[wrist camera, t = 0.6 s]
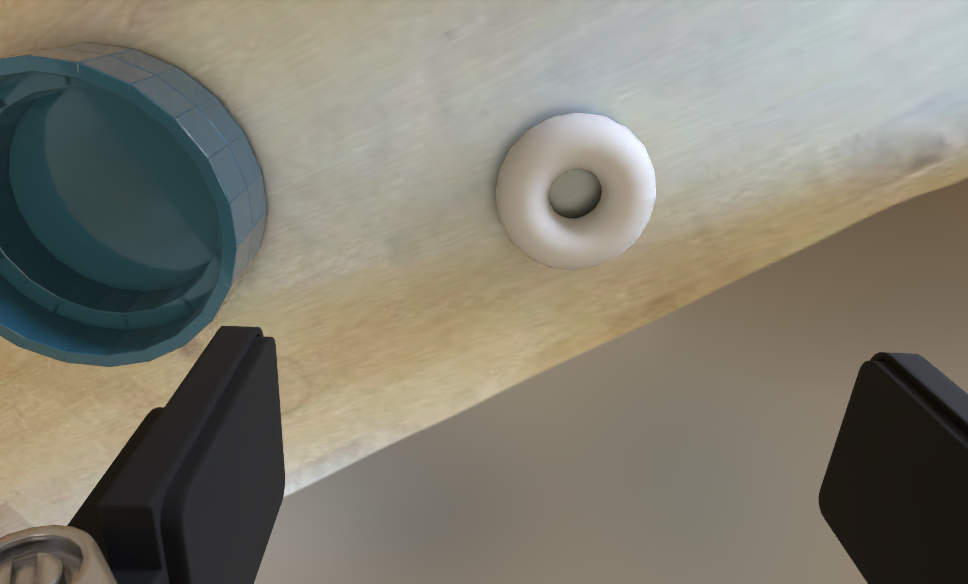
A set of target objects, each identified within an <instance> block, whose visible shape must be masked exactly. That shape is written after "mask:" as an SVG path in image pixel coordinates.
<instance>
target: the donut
mask: <svg viewBox="0 0 968 584" xmlns="http://www.w3.org/2000/svg"><path fill="white" fill-rule="evenodd" d="M574 169H583V170H588V171H590V172H592V173H593V174H594V175H595V176H596V177H597V178H598V180H599V182H600V184H601V188H602V193H601V198H600V201H599V202H598V204H597V206H596V207H595V208H594V209H593V210H592V211H591V212H590V213H588V214H586V215H584V216H582V217H578V218H567V217H563V216H561V215H559V214H557V213H556V212H555V211H554V210H553V208H552V206H551V204H550V201H549V190H550V187H551V186H552V184H553V182H554V180H556V179H557V178H558V177H559V176H560V175H561V174H563V173H565V172H567V171H569V170H574ZM495 198H496V204H497V210H498V216H499V220H500V222H501V224H502V226H503V228H504V229H505V231H506V233H507V235H508V237H509V239H510V240H511V242H512V243H513V244H514V245H516V246H517V247H518V248H519V249H520V250H521V251H522V252H523V253H524V254H525V255H526V256H527V257H528V258H531V259H533V260H535V261H537V262H539V263H541V264H544V265H546V266H548V267H551V268H559V269H567V270H578V269H584V268H590V267H596V266H599V265H601V264H603V263H605V262H607V261H609V260H611V259H613V258H616V257H618V256H619V255H620V254H622V253H623V252H624V251H625V250H626V249H627V248H628V247H629V246H631V245H632V244H633V243H634V242H635V241H636V240H637V239H638V237H639V236H640V234H641V233H642V231H643V229H644V228H645V226H646V225H647V223H648V221H649V220H650V217H651V213H652V209H653V206H654V202H655V198H656V186H655V171H654V168H653V166H652V163H651V161H650V159H649V156H648V154H647V152H646V149H645V147H644V145H643V144H642V143H641V142H640V141H639V140H638V139H637V138H636V137H635V136H634V135H633V134H632V133H631V131H630V130H629V129H628V128H626V127H624V126H622V125H620V124H619V123H617V122H615V121H613V120H611V119H609V118H607V117H605V116H599V115H592V114H585V113H578V112H577V113H571V114H566V115H560V116H554V117H551V118H549V119H547V120H545V121H543V122H542V123H540V124H538V125H536V126H534V127H532V128H530V129H529V130H528V131H527V132H526V133H525V134H524V135H523V136H522V137H521V138H520V139H519V140H518V141H517V142H516V143H515V144H514V145H513V146H512V147H511V149H510V151H509V152H508V154H507V156H506V158H505V160H504V162H503V164H502V166H501V168H500V170H499V174H498V180H497V186H496V193H495Z"/></svg>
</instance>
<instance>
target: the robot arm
mask: <svg viewBox="0 0 968 584" xmlns="http://www.w3.org/2000/svg"><path fill="white" fill-rule="evenodd" d="M284 488H285V469H284V455H283V441H282V427H281V413H280V399H279V385H278V371H277V357H276V345H275V340H274V338H273V337H263V332H262V330H261V328H260V327H238V326H221V327H220V328H219V329H218V331H217V332H216V334H215V335H214V337H213V338H212V340H211V341H210V342H209V344H208V345H207V347H206V348H205V350H204V351H203V353H202V354H201V355H200V357H199V358H198V360H197V361H196V363H195V364H194V366H193V367H192V368H191V370H190V371H189V373H188V374H187V376H186V377H185V379H184V380H183V381H182V383H181V384H180V386H179V387H178V389H177V390H176V392H175V393H174V394H173V396H172V397H171V399H170V400H169V402H168V403H167V405H166V406H165V407H164V408H162V407H158V408H155V409H152V410H151V411H150V412H149V414H148V415H147V416H146V417H145V418H144V420H143V421H142V423H141V424H140V425H139V427H138V428H137V430H136V431H135V432H134V434H133V435H132V437H131V438H130V439H129V441H128V442H127V443H126V445H125V446H124V448H123V449H122V450H121V452H120V453H119V455H118V456H117V457H116V459H115V460H114V462H113V463H112V464H111V466H110V467H109V468H108V470H107V471H106V473H105V474H104V475H103V477H102V478H101V480H100V481H99V482H98V484H97V485H96V487H95V488H94V489H93V491H92V492H91V493H90V495H89V496H88V498H87V499H86V500H85V502H84V503H83V505H82V506H81V507H80V509H79V510H78V512H77V513H76V514H75V516H74V517H73V518H72V520H71V521H70V523H69V524H68V525H67V526H61V525H48V526H40V527H32V528H28V529H25V530H21V531H18V532H14V533H11V534H8V535H5V536H3V537H1V538H0V584H254V581H255V578H256V575H257V572H258V570H259V567H260V564H261V561H262V558H263V555H264V552H265V549H266V546H267V543H268V540H269V537H270V535H271V532H272V529H273V526H274V523H275V520H276V517H277V514H278V511H279V508H280V506H281V503H282V499H283V495H284ZM819 507H820V510H821V513H822V515H823V517H824V519H825V520H826V522H827V523H828V524H829V526H830V528H831V529H832V531H833V532H834V533H835V535H836V537H837V538H838V540H839V541H840V543H841V544H842V546H843V547H844V549H845V550H846V552H847V553H848V554H849V556H850V558H851V559H852V560H853V562H854V564H855V565H856V566H857V568H858V569H859V571H860V572H861V574H862V575H863V577H864V578H865V580H866V581H867V583H868V584H968V394H967V393H966V392H965V391H963V390H962V389H961V388H959V387H958V386H957V385H956V384H955V383H954V382H952V381H951V380H950V379H949V378H948V377H946V376H945V375H944V374H943V373H941V372H940V371H939V370H938V369H937V368H935V367H934V366H933V365H931V363H929V362H928V361H927V360H925V358H923V357H922V356H920V355H918V354H910V353H909V354H907V353H885V352H879V353H877V354H875V355H874V356H873V357H872V358H871V360H870V361H866V362H864V363H863V364H862V366H861V368H860V370H859V373H858V376H857V379H856V382H855V385H854V388H853V391H852V394H851V397H850V400H849V403H848V406H847V409H846V412H845V415H844V419H843V421H842V425H841V428H840V431H839V434H838V437H837V440H836V443H835V446H834V449H833V452H832V455H831V458H830V462H829V464H828V467H827V471H826V474H825V476H824V480H823V483H822V486H821V489H820V492H819Z"/></svg>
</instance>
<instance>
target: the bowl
mask: <svg viewBox="0 0 968 584" xmlns="http://www.w3.org/2000/svg"><path fill="white" fill-rule="evenodd" d="M266 214H267V207H266V200H265V193H264V186H263V179H262V173H261V169H260V167H259V165H258V163H257V160H256V158H255V156H254V153H253V151H252V149H251V147H250V144H249V142H248V140H247V138H246V135H245V133H244V132H243V130H242V129H241V128H240V127H239V125H238V124H237V123H236V121H235V120H234V119H233V118H232V116H231V115H230V114H229V113H228V111H227V110H226V109H225V108H224V106H223V105H222V104H221V103H220V101H219V100H218V99H217V98H216V97H215V96H214V95H213V94H212V93H210V92H209V91H208V90H206V89H205V88H204V87H203V86H201V85H200V84H199V83H197V82H196V81H195V80H193V79H192V78H191V77H190V76H188V75H187V74H186V73H184V72H183V71H182V70H180V69H179V68H177V67H175V66H172V65H170V64H168V63H165V62H163V61H161V60H159V59H156V58H154V57H152V56H149V55H147V54H145V53H142V52H140V51H138V50H134V49H132V48H124V47H117V46H110V45H103V44H96V43H82V44H75V45H69V46H63V47H56V48H50V49H44V50H39V51H34V52H29V53H23V54H18V55H13V56H7V57H2V58H0V336H1V337H3V338H5V339H7V340H8V341H10V342H12V343H13V344H15V345H17V346H18V347H21V348H24V349H27V350H30V351H33V352H36V353H39V354H42V355H45V356H48V357H50V358H53V359H56V360H59V361H62V362H67V363H77V364H86V365H96V366H105V367H113V366H120V365H127V364H134V363H141V362H148V361H151V360H154V359H156V358H158V357H160V356H163V355H165V354H167V353H169V352H172V351H174V350H176V349H178V348H181V347H183V346H185V345H186V344H187V343H188V342H190V341H191V340H192V339H193V338H194V337H195V336H196V335H197V334H198V333H200V332H201V331H202V330H203V329H204V328H205V327H206V326H207V325H208V324H209V323H211V322H212V321H213V319H214V318H215V317H216V316H217V314H218V313H219V311H220V310H221V309H222V307H223V306H224V304H225V303H226V302H227V300H228V299H229V297H230V296H231V295H232V293H233V292H234V290H235V289H236V288H237V286H238V285H239V284H240V282H241V281H242V279H243V278H244V277H245V275H246V273H247V271H248V269H249V268H250V266H251V264H252V262H253V260H254V258H255V256H256V255H257V253H258V251H259V249H260V247H261V243H262V237H263V231H264V225H265V220H266Z"/></svg>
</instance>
